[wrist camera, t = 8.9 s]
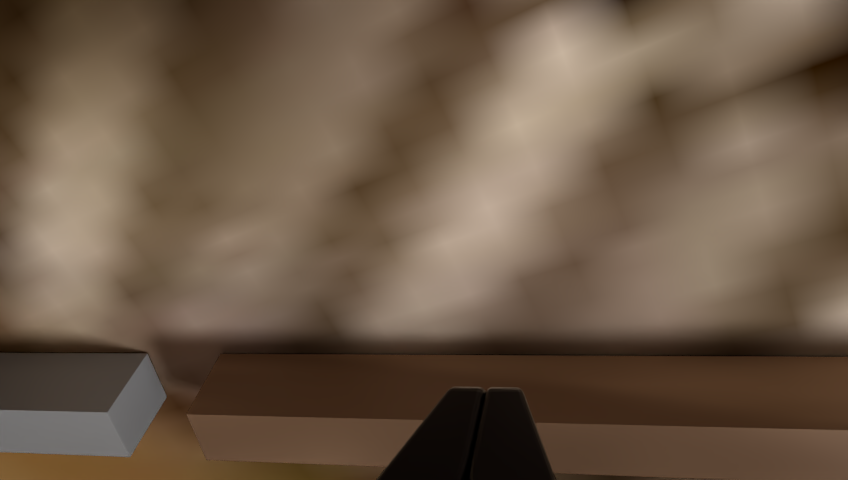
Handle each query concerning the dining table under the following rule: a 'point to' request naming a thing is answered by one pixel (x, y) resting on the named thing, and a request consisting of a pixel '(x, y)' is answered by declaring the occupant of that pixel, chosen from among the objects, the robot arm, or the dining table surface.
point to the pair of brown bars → (541, 410)
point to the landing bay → (77, 402)
